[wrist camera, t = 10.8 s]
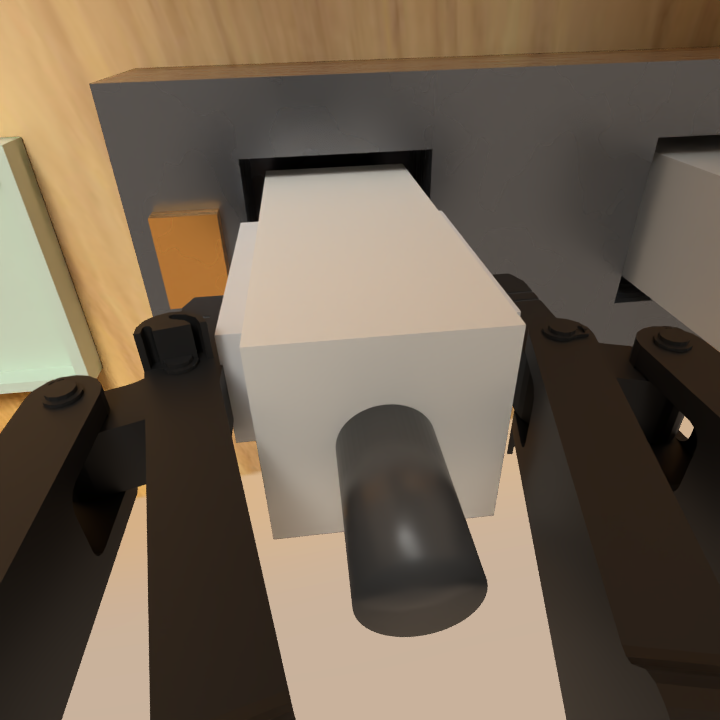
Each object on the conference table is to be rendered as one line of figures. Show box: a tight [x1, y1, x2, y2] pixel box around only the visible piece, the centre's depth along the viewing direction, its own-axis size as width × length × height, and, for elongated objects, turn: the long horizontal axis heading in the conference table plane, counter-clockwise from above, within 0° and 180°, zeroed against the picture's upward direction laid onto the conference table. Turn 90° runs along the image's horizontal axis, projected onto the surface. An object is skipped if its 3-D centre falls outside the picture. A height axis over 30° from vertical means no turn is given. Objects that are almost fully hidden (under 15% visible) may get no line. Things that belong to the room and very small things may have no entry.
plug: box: [239, 164, 526, 637], centre depth 13 cm, size 4×4×14 cm
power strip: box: [90, 47, 720, 346], centre depth 20 cm, size 10×26×6 cm, turn 91°
